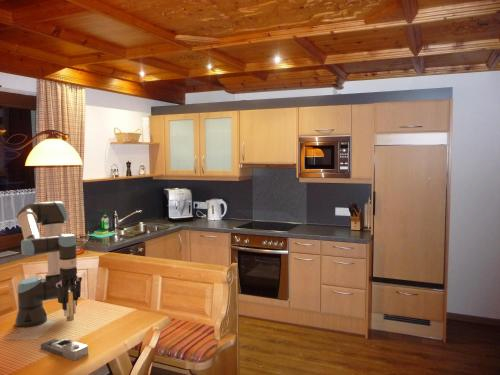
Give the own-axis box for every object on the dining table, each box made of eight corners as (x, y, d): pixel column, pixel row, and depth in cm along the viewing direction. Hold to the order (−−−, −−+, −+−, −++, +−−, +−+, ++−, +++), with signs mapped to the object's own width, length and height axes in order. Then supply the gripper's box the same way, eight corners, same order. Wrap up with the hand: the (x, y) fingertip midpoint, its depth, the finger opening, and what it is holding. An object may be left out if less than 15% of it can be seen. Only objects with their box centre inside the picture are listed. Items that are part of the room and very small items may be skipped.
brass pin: (65, 320, 199) (64, 292, 198) (70, 318, 202) (69, 290, 201) (69, 321, 198) (68, 293, 197) (75, 319, 201) (74, 291, 199)
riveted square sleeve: (40, 348, 192) (40, 339, 192) (54, 342, 198) (54, 333, 198) (74, 360, 180) (74, 350, 180) (88, 354, 186) (87, 344, 186)
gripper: (58, 272, 189) (60, 322, 191) (87, 263, 203) (89, 310, 205) (47, 269, 193) (49, 318, 195) (77, 261, 207) (79, 307, 209)
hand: (70, 314), depth 200 cm, fingers closed on brass pin, 3 cm apart
